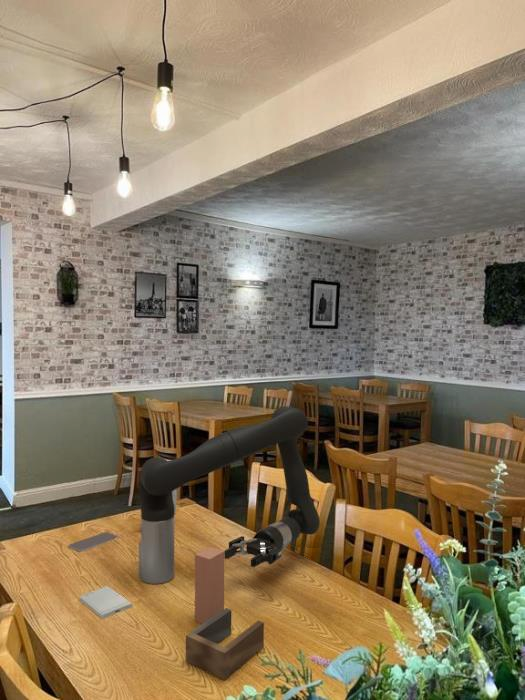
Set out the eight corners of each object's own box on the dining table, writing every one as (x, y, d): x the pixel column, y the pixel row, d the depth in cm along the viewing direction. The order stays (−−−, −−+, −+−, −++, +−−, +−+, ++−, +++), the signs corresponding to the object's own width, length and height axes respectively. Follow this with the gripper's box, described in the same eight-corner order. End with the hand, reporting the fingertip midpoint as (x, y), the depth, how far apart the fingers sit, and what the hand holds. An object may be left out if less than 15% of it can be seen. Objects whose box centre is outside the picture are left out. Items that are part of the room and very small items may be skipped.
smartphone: (119, 536, 174) (80, 550, 162) (119, 539, 174) (80, 553, 162) (105, 531, 179) (66, 545, 167) (105, 534, 179) (66, 547, 167)
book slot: (185, 661, 109) (185, 635, 109) (226, 631, 120) (226, 607, 120) (224, 680, 103) (225, 653, 103) (263, 647, 114) (263, 622, 114)
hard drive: (79, 596, 133) (102, 614, 125) (108, 585, 139) (132, 602, 130) (79, 602, 134) (102, 621, 125) (108, 591, 139) (132, 609, 130)
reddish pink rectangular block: (194, 620, 124) (195, 554, 124) (209, 610, 129) (210, 546, 128) (209, 626, 122) (209, 559, 121) (223, 616, 126) (224, 551, 126)
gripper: (252, 520, 151) (217, 538, 138) (294, 531, 143) (261, 551, 130) (252, 546, 152) (217, 566, 138) (294, 558, 144) (261, 581, 130)
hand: (238, 559), depth 134 cm, fingers open, 8 cm apart
